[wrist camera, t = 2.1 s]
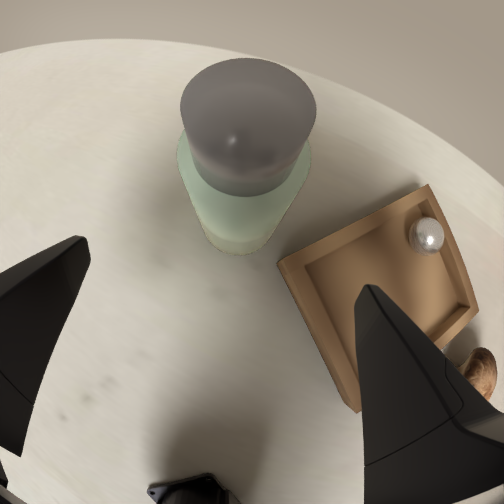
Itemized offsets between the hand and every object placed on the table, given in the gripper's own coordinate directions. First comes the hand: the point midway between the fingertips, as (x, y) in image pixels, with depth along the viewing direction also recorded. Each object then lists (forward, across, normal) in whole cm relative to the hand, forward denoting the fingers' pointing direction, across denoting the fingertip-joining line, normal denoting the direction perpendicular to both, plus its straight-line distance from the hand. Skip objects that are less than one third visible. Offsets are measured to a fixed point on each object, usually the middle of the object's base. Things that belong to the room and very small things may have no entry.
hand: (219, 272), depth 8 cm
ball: (+11, -14, +3) cm, 18 cm away
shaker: (+11, 0, +4) cm, 12 cm away
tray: (+9, -12, +7) cm, 17 cm away
